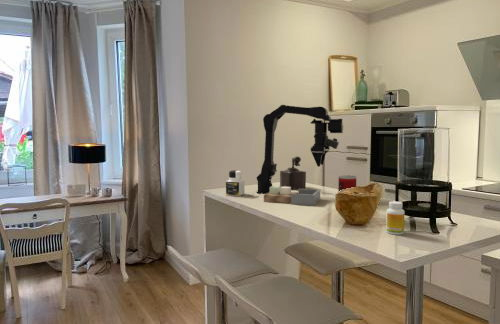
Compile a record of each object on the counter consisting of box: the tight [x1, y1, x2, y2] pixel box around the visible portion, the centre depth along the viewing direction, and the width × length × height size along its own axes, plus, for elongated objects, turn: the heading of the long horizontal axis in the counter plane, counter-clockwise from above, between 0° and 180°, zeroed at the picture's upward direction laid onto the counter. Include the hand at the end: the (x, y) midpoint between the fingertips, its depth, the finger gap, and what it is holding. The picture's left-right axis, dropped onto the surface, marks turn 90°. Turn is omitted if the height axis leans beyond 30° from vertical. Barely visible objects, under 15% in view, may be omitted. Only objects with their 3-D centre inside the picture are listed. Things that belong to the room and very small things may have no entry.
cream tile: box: [280, 187, 292, 195], centre depth 177 cm, size 4×4×3 cm
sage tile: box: [270, 185, 280, 194], centre depth 179 cm, size 4×4×3 cm
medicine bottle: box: [225, 169, 246, 197], centre depth 193 cm, size 7×7×12 cm
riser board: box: [263, 191, 298, 204], centre depth 178 cm, size 13×12×3 cm
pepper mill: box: [279, 156, 307, 191], centre depth 210 cm, size 16×11×18 cm
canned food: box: [337, 174, 357, 193], centre depth 177 cm, size 8×8×11 cm
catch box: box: [290, 188, 321, 206], centre depth 174 cm, size 10×15×4 cm, turn 160°
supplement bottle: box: [385, 200, 406, 236], centre depth 123 cm, size 5×5×10 cm
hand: (320, 165), depth 188 cm, fingers open, 9 cm apart
